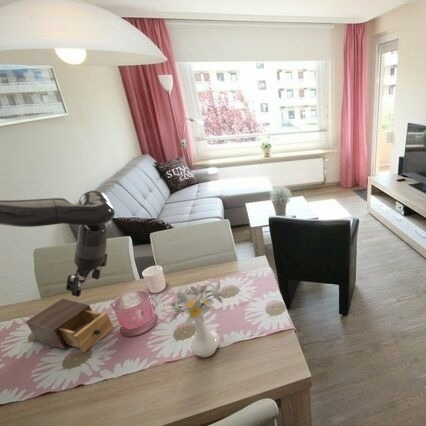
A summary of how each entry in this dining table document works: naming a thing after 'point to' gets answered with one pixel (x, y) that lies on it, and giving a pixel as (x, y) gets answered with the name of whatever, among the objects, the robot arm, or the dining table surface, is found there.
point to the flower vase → (199, 317)
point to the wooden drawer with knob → (85, 329)
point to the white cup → (154, 278)
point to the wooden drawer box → (55, 321)
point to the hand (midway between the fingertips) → (86, 286)
